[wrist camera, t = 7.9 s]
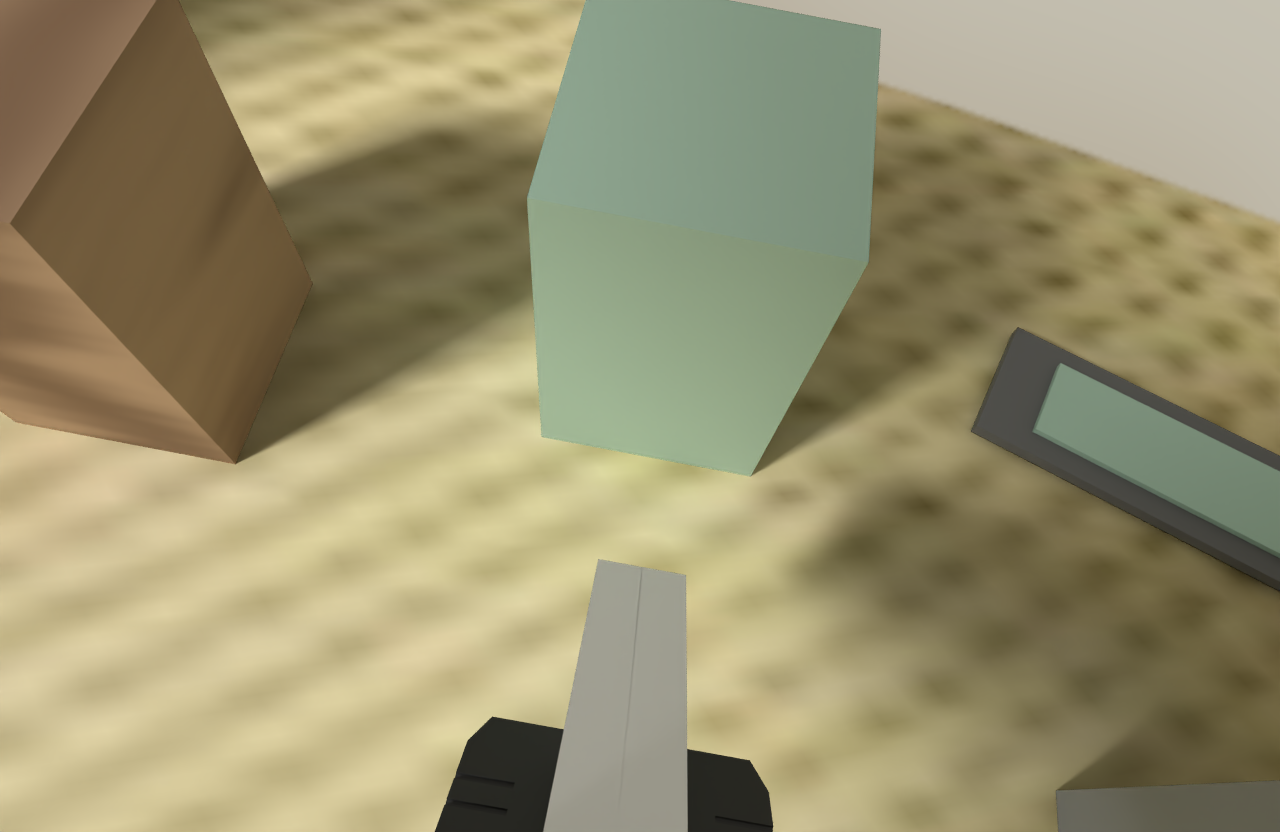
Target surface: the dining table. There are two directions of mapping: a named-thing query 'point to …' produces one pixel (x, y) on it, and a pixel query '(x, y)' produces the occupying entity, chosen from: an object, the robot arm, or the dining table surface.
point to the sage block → (697, 222)
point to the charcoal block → (1172, 808)
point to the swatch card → (1137, 453)
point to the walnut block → (133, 234)
